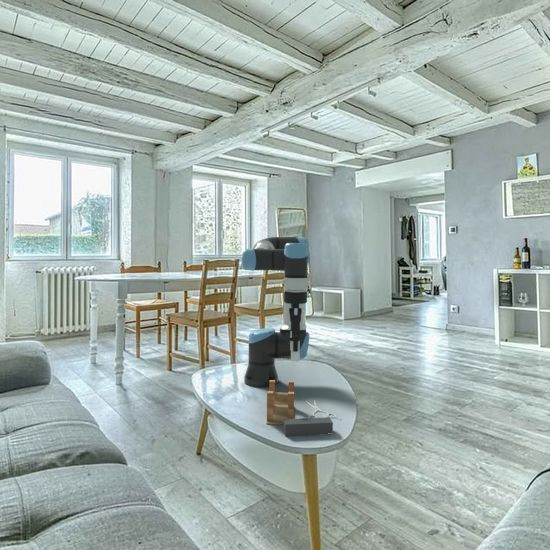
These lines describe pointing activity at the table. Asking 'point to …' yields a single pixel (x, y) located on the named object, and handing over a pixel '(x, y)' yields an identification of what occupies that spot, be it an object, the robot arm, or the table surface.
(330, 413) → the white flat branched piece
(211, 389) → the table surface
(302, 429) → the bar
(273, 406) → the wooden ladder frame
